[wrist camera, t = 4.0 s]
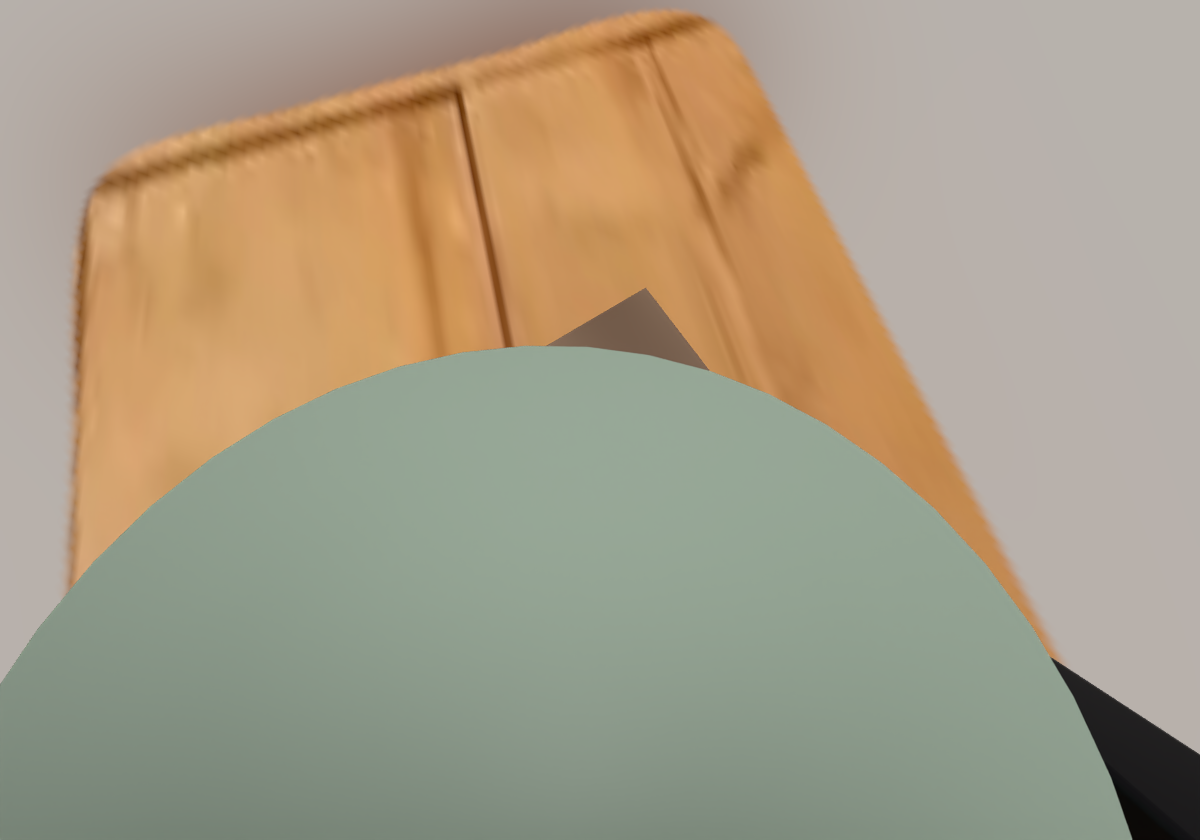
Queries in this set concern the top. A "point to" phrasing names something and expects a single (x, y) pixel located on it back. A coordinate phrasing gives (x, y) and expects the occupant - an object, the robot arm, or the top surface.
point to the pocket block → (634, 332)
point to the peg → (544, 634)
